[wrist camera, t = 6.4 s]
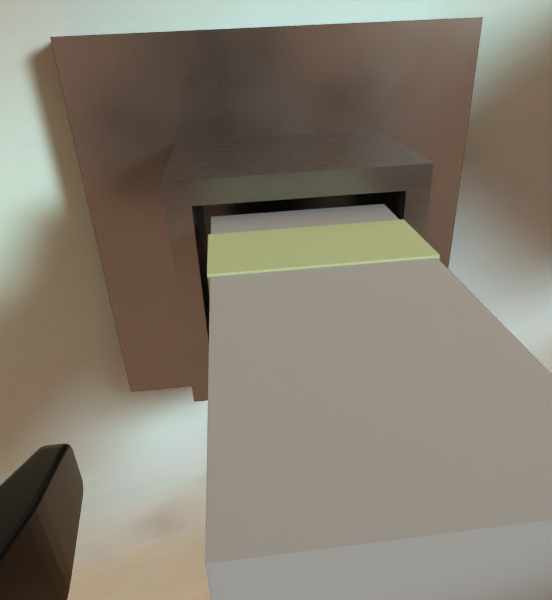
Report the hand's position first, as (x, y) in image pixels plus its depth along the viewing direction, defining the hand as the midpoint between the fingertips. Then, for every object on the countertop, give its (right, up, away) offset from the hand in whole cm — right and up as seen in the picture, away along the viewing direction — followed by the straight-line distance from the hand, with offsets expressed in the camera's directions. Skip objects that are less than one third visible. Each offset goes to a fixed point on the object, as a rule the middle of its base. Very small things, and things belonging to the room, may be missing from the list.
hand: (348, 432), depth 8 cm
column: (-1, +2, +5) cm, 5 cm away
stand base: (-1, +5, +9) cm, 10 cm away
